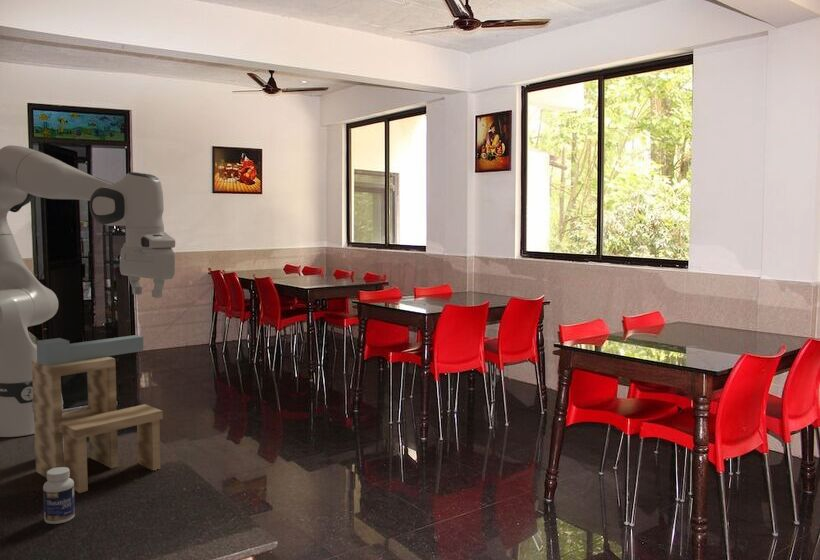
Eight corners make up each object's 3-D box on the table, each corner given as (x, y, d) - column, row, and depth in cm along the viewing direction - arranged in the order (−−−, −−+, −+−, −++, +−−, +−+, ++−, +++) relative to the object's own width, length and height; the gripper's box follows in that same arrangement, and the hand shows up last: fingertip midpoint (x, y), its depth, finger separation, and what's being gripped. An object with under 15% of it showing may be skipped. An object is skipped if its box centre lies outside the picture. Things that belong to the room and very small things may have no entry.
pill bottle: (44, 527, 130) (42, 477, 129) (44, 515, 135) (42, 468, 134) (75, 521, 133) (73, 473, 132) (74, 510, 137) (73, 463, 137)
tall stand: (36, 471, 158) (31, 360, 155) (96, 455, 168) (93, 352, 166) (56, 484, 151) (52, 368, 148) (118, 466, 161) (115, 358, 159)
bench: (61, 484, 150) (59, 422, 149) (146, 460, 166) (144, 404, 164) (77, 494, 145) (75, 430, 144) (163, 468, 161) (162, 410, 159)
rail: (37, 362, 153) (36, 340, 153) (134, 348, 171) (134, 328, 170) (46, 366, 150) (46, 343, 150) (145, 351, 168) (144, 331, 167)
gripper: (112, 238, 171) (113, 293, 172) (154, 241, 158) (156, 300, 159) (136, 238, 176) (137, 291, 177) (179, 240, 163) (180, 298, 164)
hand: (146, 295), depth 168 cm, fingers open, 8 cm apart
